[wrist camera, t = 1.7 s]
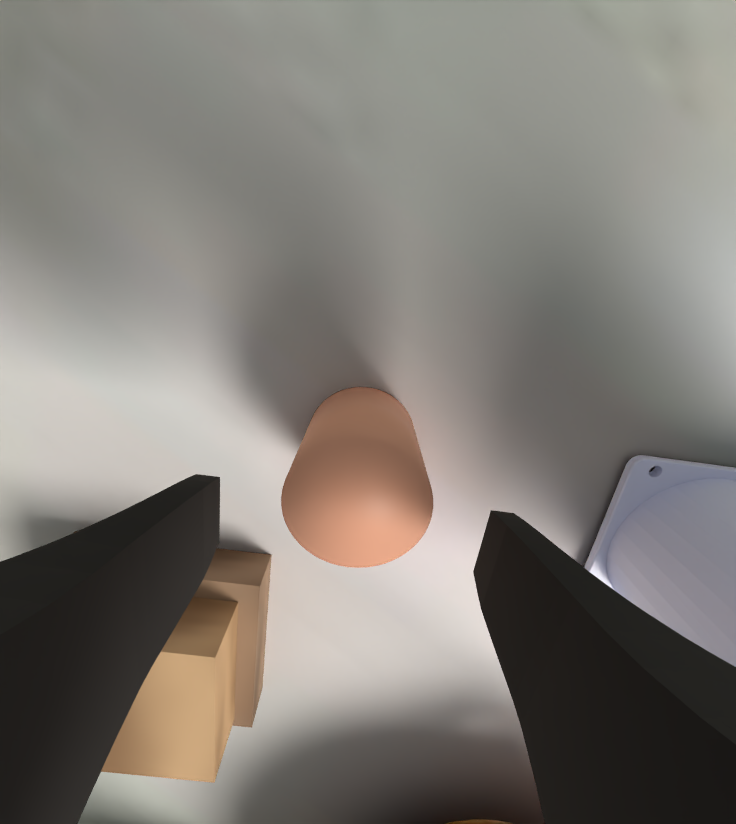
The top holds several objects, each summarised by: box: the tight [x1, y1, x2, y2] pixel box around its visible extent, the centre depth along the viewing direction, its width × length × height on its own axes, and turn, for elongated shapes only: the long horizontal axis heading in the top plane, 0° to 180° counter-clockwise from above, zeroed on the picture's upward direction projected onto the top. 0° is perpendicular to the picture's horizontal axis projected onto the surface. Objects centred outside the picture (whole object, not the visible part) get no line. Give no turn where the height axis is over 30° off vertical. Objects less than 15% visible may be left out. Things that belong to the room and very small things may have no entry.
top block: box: [101, 597, 238, 782], centre depth 16 cm, size 8×8×2 cm
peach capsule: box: [281, 387, 433, 568], centre depth 13 cm, size 4×4×5 cm
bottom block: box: [74, 531, 271, 727], centre depth 18 cm, size 9×9×2 cm
